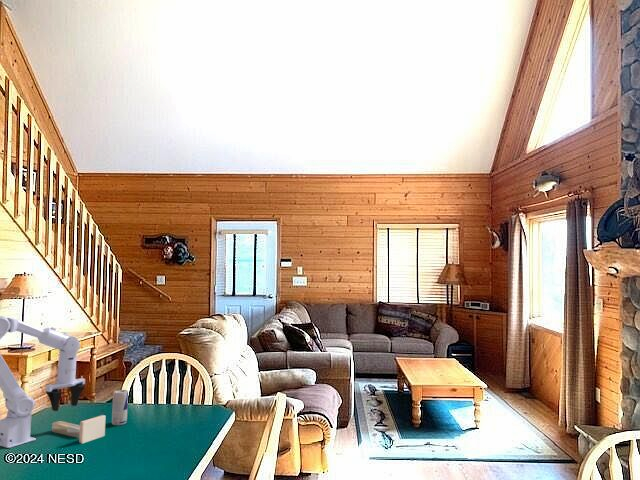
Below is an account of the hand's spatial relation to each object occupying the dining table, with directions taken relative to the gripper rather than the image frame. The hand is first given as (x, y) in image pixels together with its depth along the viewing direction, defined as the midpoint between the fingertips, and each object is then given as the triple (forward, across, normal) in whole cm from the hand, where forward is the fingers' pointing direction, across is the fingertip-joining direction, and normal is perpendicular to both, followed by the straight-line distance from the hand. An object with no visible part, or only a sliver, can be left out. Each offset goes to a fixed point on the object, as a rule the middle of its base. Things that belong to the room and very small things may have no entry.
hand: (64, 408), depth 178 cm
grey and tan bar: (+8, 0, -3) cm, 9 cm away
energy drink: (+8, +17, -9) cm, 21 cm away
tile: (+8, 0, -15) cm, 17 cm away
